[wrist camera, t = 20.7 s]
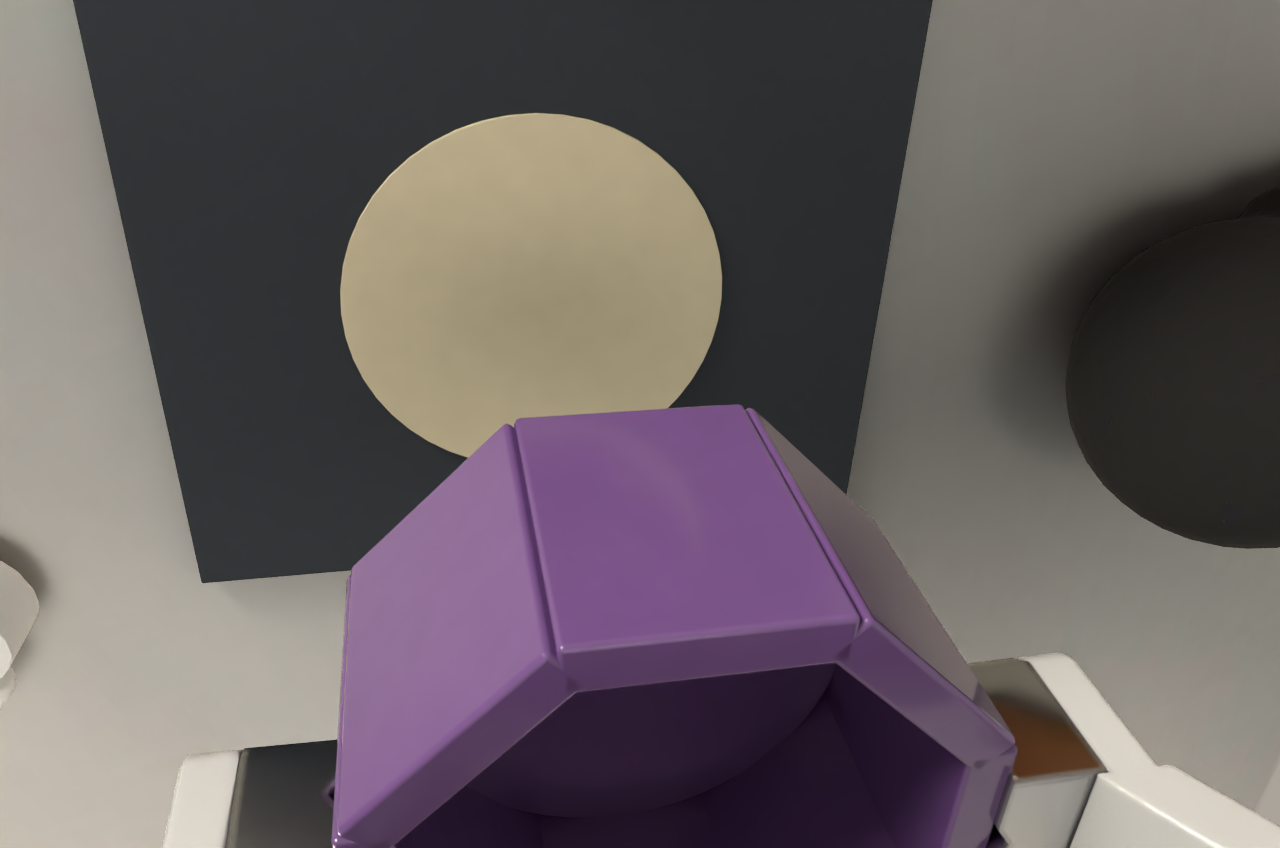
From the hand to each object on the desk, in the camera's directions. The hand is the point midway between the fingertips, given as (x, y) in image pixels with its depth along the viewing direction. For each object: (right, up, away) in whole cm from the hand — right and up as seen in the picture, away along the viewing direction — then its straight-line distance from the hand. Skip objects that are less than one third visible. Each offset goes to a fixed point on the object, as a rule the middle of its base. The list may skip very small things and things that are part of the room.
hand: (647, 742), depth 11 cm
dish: (0, +1, +1) cm, 2 cm away
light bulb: (+12, +7, +12) cm, 18 cm away
